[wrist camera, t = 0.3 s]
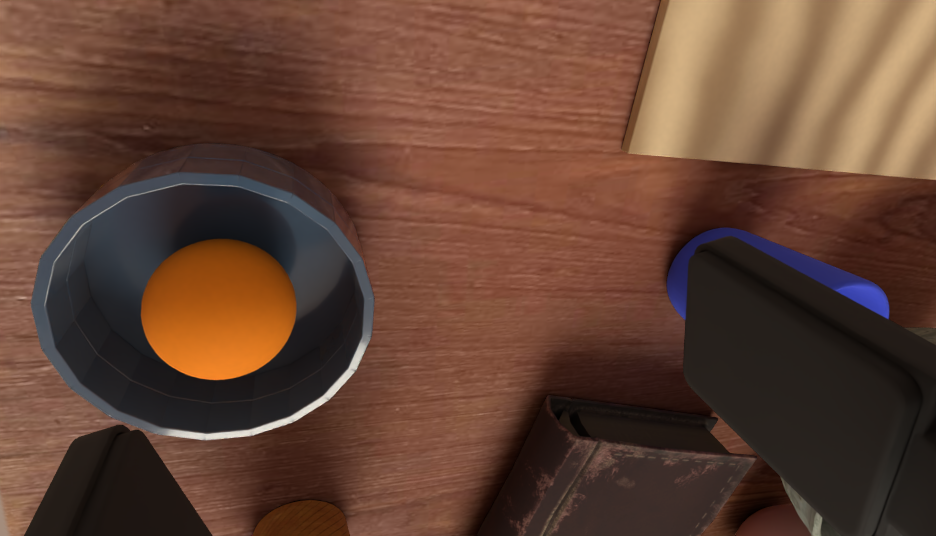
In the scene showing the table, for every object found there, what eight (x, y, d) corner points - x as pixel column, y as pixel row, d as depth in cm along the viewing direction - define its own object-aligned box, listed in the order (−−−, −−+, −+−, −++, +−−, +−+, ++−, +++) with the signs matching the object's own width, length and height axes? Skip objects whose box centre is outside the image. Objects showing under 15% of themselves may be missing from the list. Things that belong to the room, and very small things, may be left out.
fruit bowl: (15, 183, 23) (-50, 226, 19) (320, 113, 25) (325, 136, 21) (156, 406, 29) (132, 475, 25) (387, 334, 32) (402, 387, 27)
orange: (134, 238, 25) (88, 306, 19) (272, 203, 26) (265, 258, 20) (192, 344, 28) (166, 429, 22) (312, 309, 29) (316, 382, 23)
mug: (722, 353, 41) (834, 445, 33) (628, 288, 35) (733, 380, 27) (797, 271, 39) (936, 346, 31) (710, 189, 34) (851, 254, 25)
